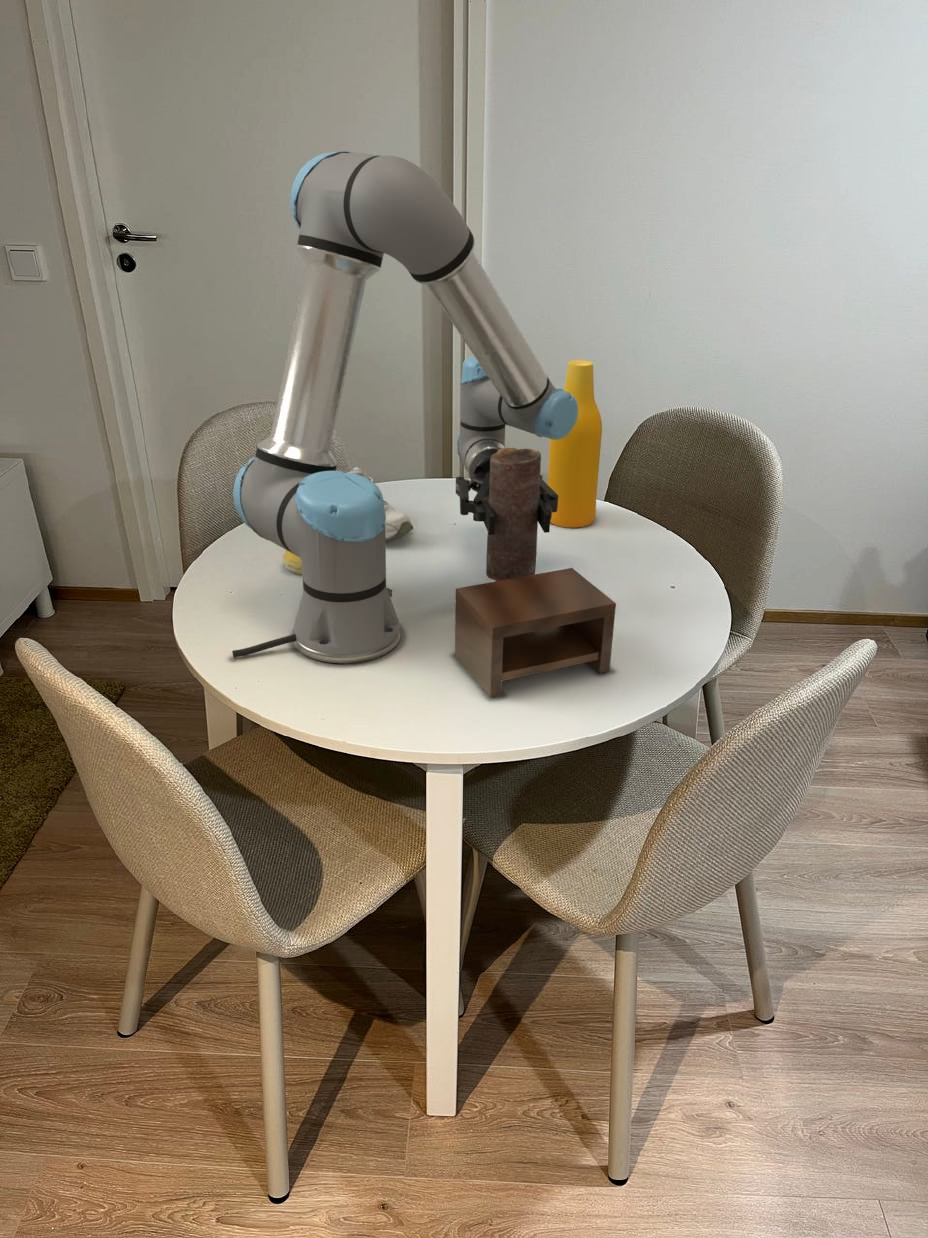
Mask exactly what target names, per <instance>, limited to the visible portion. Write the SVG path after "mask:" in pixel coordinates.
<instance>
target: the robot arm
mask: <svg viewBox="0 0 928 1238" xmlns="http://www.w3.org/2000/svg"><path fill="white" fill-rule="evenodd" d="M289 199H290V200H289V202H290V212H291V216H293V218H294V223H295V226H296V228H297V229H298V230H299V233H298V238H297V244H296V249H297V250H298V252H299V254H300V256H301V257H302V259H303V262H304V266H303V273H302V277H301V281H300V286H299V291H298V297H297V302H296V307H295V312H294V317H293V322H292V326H291V331H290V336H289V341H288V346H287V351H286V356H285V362H284V367H283V371H282V377H281V382H280V386H279V391H278V396H277V400H276V406H275V410H274V411H275V412H274V416H273V419H272V420H273V421H272V425H271V430H270V434H269V436H268V437H266V438H265V439H263V440H260V441H259V442H258V443H257V446H256V450H255V455H254V457H252V458H250V459H249V460H248V461H247V464H245V465H244V466H241V468H240V470H239V471H238V473H237V475H236V477H235V479H234V484H233V492H232V494H233V495H232V496H233V497H232V498H233V504H234V507H235V510H236V513H237V515H238V516H239V518H240V519H241V521H242V523H243V524H244V525H246V526H247V527H248V528H249V529H250V530H252V532H254V533H255V534H256V535H257V536H259V537H260V538H262V539H265V540H266V541H269V542H271V543H273V544H275V545H276V546H278V547H280V548H282V549H283V550H285V551H286V550H287V551H289V552H291V553H293V554H295V555H296V556H298V557H300V558H301V563H302V574H301V575H302V589H303V591H302V595H301V598H300V602H299V605H298V609H297V612H296V615H295V619H294V623H293V624H294V625H293V634H290V635H287V636H282V637H278V638H275V639H272V640H268V641H264V642H262V643H259V644H255V645H253V646H249V647H245V648H241V649H234V650H232V651H231V653H232V657H233V658H239V657H244V656H245V657H246V656H248V655H249V656H250V655H253V654H256V653H259V652H262V651H265V650H268V649H269V650H270V649H272V648H276V647H279V646H282V645H287V644H290V643H293V642H294V645H295V647H296V648H297V650H298V651H299V652H300V653H302V654H303V655H304V656H307V657H308V658H311V659H314V660H315V661H320V662H325V663H331V664H333V663H334V664H354V663H362V662H366V661H370V660H374V659H377V658H379V657H381V656H384V655H386V654H387V653H389V652H391V651H393V649H394V648H396V646H397V645H398V644H399V642H400V639H401V624H400V619H399V616H398V613H397V611H396V609H395V606H394V604H393V601H392V598H394V596H393V589H391V588H389V587H387V554H386V550H387V549H386V548H387V547H386V545H387V543H386V542H387V541H385V522H386V513H385V509H384V502H383V500H384V496H383V493H382V491H381V490H380V488H379V486H377V484H376V483H375V482H372V481H371V480H369V479H367V478H365V477H363V476H361V475H358V474H354V473H347V472H345V471H344V470H343V471H344V472H345V473H344V472H343V471H336V469H337V466H338V461H337V459H336V458H335V456H334V454H333V452H332V451H331V445H332V440H333V436H334V431H335V427H336V422H337V418H338V413H339V408H340V403H341V399H342V394H343V390H344V385H345V381H346V376H347V371H348V367H349V362H350V357H351V354H352V349H353V343H354V340H355V335H356V330H357V326H358V321H359V316H360V313H361V312H360V311H361V307H362V302H363V297H364V293H365V288H366V285H367V282H368V279H370V278H371V277H372V276H375V275H376V274H377V273H379V272H380V271H381V268H382V263H383V259H384V255H388V256H390V257H391V258H393V259H394V260H397V261H398V263H400V264H401V265H402V266H403V267H404V268H405V269H406V270H407V272H408V274H409V275H410V276H411V278H412V279H413V280H414V281H415V282H416V283H419V284H422V285H423V284H424V285H426V286H427V287H428V289H429V290H430V292H431V293H432V295H433V296H434V298H435V299H436V301H437V302H438V304H439V305H440V307H441V308H442V310H443V311H444V313H445V314H446V316H447V317H448V319H449V321H450V322H451V323H452V325H453V326H454V328H455V329H456V331H457V333H458V334H459V335H460V337H461V338H462V340H463V341H464V342H465V344H466V346H467V347H468V349H469V350H470V352H471V353H472V355H473V356H469V357H467V358H466V359H465V360H464V361H463V362H462V370H461V381H460V425H459V433H458V435H457V438H456V448H457V449H456V450H457V455H458V456H459V460H460V462H461V463H462V464H463V467H464V469H465V470H466V473H467V475H468V477H469V479H468V478H465V477H463V476H456V477H455V494H456V495H457V496H458V497H459V513H460V514H459V515H461V516H468V515H469V513H470V514H472V521H474V522H483V524H484V527H485V529H486V531H487V534H488V533H489V535H494V533H495V515H494V513H493V511H492V509H491V507H490V505H489V485H490V459H491V456H492V455H493V454H495V453H496V452H497V451H498V450H500V449H503V448H507V447H506V426H509V427H512V428H515V429H518V430H520V431H524V432H527V433H530V434H532V435H535V436H537V437H538V438H546V439H549V440H550V439H554V440H558V439H561V438H564V437H565V436H567V435H568V434H569V433H570V431H571V430H572V428H573V427H574V426H575V423H576V421H577V417H578V404H577V401H576V399H575V397H574V396H573V395H572V394H570V393H568V392H565V391H564V388H556V387H555V386H554V385H553V383H552V381H551V380H550V378H549V376H548V375H547V373H546V372H545V370H544V368H543V366H542V365H541V363H540V361H539V360H538V358H537V356H536V355H535V353H534V351H533V349H532V348H531V346H530V345H529V343H528V341H527V339H526V338H525V336H524V334H523V332H522V330H521V329H520V327H519V326H518V324H517V322H516V321H515V318H513V315H512V314H511V312H510V311H509V309H508V307H507V306H506V304H505V302H504V300H503V299H502V297H501V295H500V293H499V292H498V289H496V287H495V285H494V283H493V281H492V280H491V278H490V277H489V275H488V273H487V272H486V270H485V269H484V266H483V265H482V263H481V262H480V260H479V258H478V257H477V255H476V253H475V251H474V250H475V246H476V245H475V244H476V241H475V240H476V239H475V236H474V235H473V232H472V231H471V229H470V227H469V225H468V224H467V223H466V221H465V220H464V218H463V216H462V215H461V213H460V211H459V209H458V208H457V206H455V204H454V202H453V201H452V200H451V199H450V197H449V196H448V195H447V193H446V192H445V191H444V190H443V189H442V187H440V186H439V184H438V183H437V182H436V181H435V180H434V179H433V178H432V177H431V176H430V175H429V174H428V173H427V172H426V171H425V170H423V169H422V168H420V167H419V166H418V165H417V164H415V162H411V161H409V160H408V159H406V158H403V157H400V156H397V155H396V156H395V155H379V154H371V153H363V152H353V151H347V150H343V151H342V150H341V151H340V150H339V151H334V152H325V153H322V154H319V155H317V156H314V157H313V158H311V159H310V160H308V161H307V162H306V163H305V164H304V165H303V166H302V167H301V168H300V170H299V172H297V175H296V177H295V178H294V181H293V184H292V187H291V191H290V197H289ZM346 473H347V474H346ZM471 490H472V491H474V492H476V495H475V496H474V498H473V500H470V494H469V493H470V491H471ZM557 508H558V495H557V494H556V493H555V492H554V491H553V490H552V489H551V488H550V487H549V486H548V483H547V482H545V481H544V480H543V475H542V474H540V487H539V506H538V525H539V527H540V528H541V530H542V531H543V533H544V534H546V533H550V531H551V530H550V529H551V522H550V519H551V518H552V512H557Z"/></svg>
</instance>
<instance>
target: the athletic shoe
mask: <svg viewBox="0 0 928 1238" xmlns="http://www.w3.org/2000/svg"><path fill="white" fill-rule="evenodd" d="M336 471H343V472H344V473H346V474H347V473H354V474H358V475H361V476H363V477H365V478H367V479H369V480H371V481H372V482H373V483H375V482H374V478H373V477H372V476H368V475H367V473H364V472H363V469H361V468H359V467H358V466H356V467H353V468H352V470H351V471H350V470H349V471H347V472H345V470H343V469H340V468H336ZM383 502H384V509H385V513H386V522H385V541H386V542H388V541H391V540H394V539H396V538H399V537H401V536H404V535H405V534H408V533H410V532H411V531H413V530H414V524H413V523H412V520H411V519H410V518H409V517H408V516H407V514H405V513H403V512H401V511H399V510H397V509H396V508H394V507H393V506H392V505H390V504H389V502H387V501H386V500H384V499H383Z"/></svg>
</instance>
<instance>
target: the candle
mask: <svg viewBox="0 0 928 1238" xmlns="http://www.w3.org/2000/svg"><path fill="white" fill-rule="evenodd" d="M541 462H542V453H541V452H540V451H539V450H538V449H537V450H535V449H531V448H516V447H506V448H503V449H500V450H498V451H497V452H496V453H495V454H493V455H492V456H491V459H490V485H489V505H490V507H491V509H492V511H493V513H494V515H495V533H494V535H489V533H488V532H487V535H486V536H487V537H486V563H485V564H486V567H485V568H486V569H485V575H486V577H487V579H489V580H493V581H494V582H495V581H501V580H506V579H512V578H517V577H523V576H529V575H534V574H536V568H537V567H536V566H537V555H538V551H537V549H538V548H537V547H538V528H539V527H538V525H539V522H538V506H539V487H540V475H541V469H542V467H541V466H542V465H541Z"/></svg>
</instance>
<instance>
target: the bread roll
mask: <svg viewBox="0 0 928 1238" xmlns="http://www.w3.org/2000/svg"><path fill="white" fill-rule="evenodd" d="M282 563H283V566H284V568H285V569H286V570H287V571H290V572H291V573H294V574H297V575H302V563H301V558H300V557H298V556H296V555H295V554H293V553H291V552H289V551H287V550H285V551H284V554H283V558H282Z"/></svg>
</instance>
